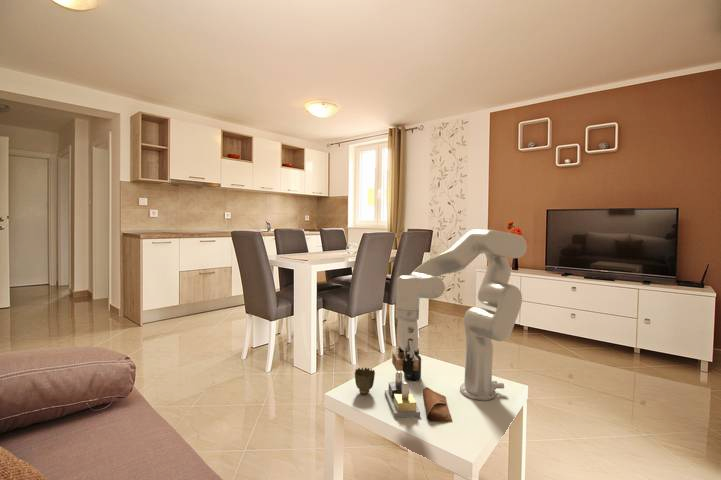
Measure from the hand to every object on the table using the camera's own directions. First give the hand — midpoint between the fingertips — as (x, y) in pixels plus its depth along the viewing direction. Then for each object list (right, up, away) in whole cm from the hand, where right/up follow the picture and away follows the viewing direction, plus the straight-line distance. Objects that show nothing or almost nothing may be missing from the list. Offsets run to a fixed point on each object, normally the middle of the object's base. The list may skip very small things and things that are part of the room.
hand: (404, 367), depth 117 cm
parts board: (-1, -15, +5) cm, 16 cm away
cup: (-13, -14, +13) cm, 23 cm away
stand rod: (-1, -13, +10) cm, 16 cm away
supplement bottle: (+6, -14, +27) cm, 31 cm away
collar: (0, 0, 0) cm, 0 cm away
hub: (0, -13, +1) cm, 13 cm away
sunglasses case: (+11, -16, +4) cm, 20 cm away
